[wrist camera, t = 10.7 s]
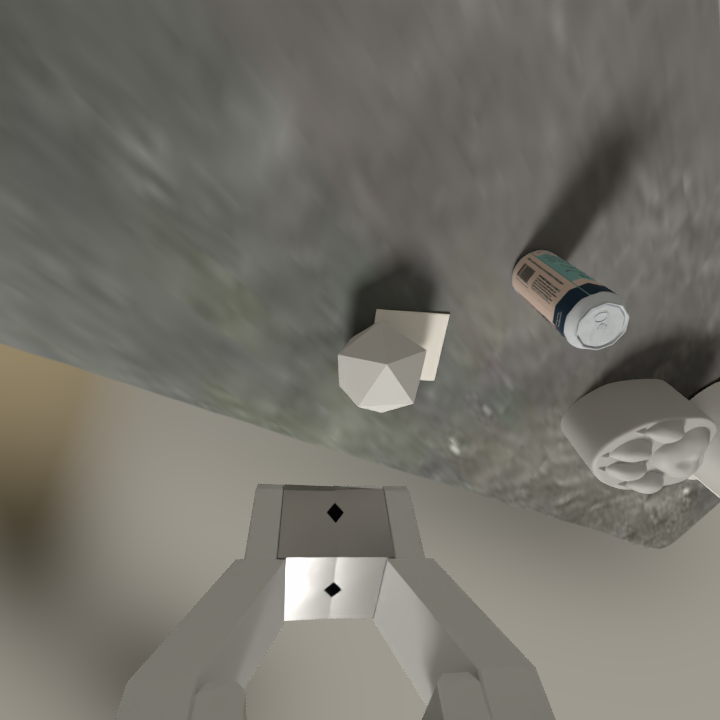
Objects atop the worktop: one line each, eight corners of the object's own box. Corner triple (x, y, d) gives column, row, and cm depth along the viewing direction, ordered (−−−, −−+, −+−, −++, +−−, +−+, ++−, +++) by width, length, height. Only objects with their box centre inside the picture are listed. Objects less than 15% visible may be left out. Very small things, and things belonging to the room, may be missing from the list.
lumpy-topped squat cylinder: (652, 441, 56) (703, 494, 48) (554, 452, 55) (590, 507, 48) (677, 374, 50) (739, 421, 43) (568, 386, 50) (612, 435, 43)
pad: (449, 314, 44) (449, 314, 44) (433, 379, 48) (434, 380, 48) (376, 309, 43) (376, 309, 43) (366, 376, 47) (367, 377, 47)
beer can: (514, 302, 44) (574, 363, 34) (504, 260, 41) (566, 312, 31) (561, 284, 43) (637, 340, 33) (553, 240, 41) (633, 286, 30)
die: (316, 415, 40) (399, 435, 44) (367, 365, 34) (457, 394, 39) (315, 346, 45) (390, 370, 49) (359, 292, 39) (440, 325, 44)
